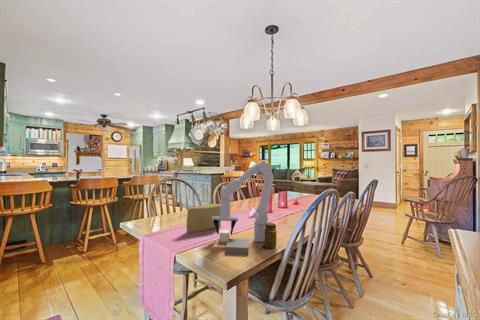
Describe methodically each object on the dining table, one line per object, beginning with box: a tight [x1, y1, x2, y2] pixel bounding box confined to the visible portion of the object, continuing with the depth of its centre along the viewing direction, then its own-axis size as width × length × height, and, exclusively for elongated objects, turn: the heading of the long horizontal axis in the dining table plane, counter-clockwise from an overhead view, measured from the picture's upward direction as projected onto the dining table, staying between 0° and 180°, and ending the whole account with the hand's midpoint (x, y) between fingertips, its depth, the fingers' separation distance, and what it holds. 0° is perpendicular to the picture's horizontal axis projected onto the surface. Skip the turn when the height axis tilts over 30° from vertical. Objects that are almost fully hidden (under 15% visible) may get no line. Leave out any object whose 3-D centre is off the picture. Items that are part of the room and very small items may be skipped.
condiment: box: [258, 222, 280, 253], centre depth 114 cm, size 7×8×12 cm
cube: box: [219, 229, 231, 243], centre depth 123 cm, size 5×5×5 cm
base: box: [225, 238, 250, 255], centre depth 112 cm, size 11×11×3 cm
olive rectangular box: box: [186, 203, 222, 234], centre depth 141 cm, size 22×10×15 cm, turn 130°
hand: (224, 233), depth 123 cm, fingers open, 7 cm apart
